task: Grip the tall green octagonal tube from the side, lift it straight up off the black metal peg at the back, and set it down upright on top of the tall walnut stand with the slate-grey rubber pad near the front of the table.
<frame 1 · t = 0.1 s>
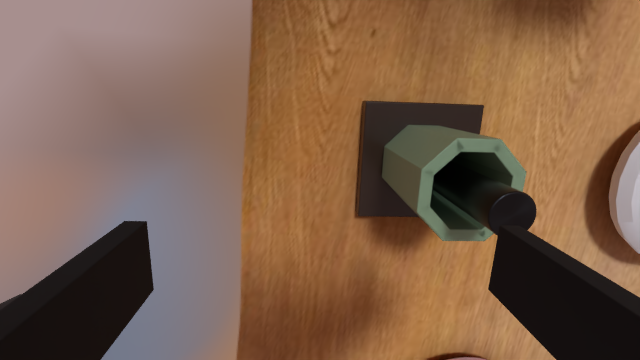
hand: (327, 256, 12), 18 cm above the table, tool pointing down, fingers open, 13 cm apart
green octagonal tube: (419, 162, 29), point 1 cm above the table, touching peg stand
peg stand: (413, 159, 30), on the table
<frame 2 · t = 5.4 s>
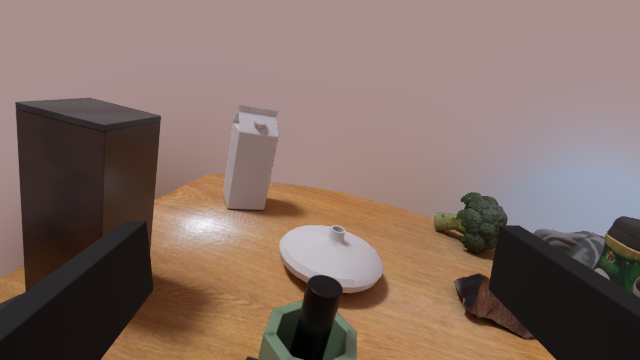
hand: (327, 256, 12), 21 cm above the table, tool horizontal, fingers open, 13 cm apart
vegetable: (461, 242, 73), on the table
coffee jar: (598, 333, 51), on the table
grey swirled rock: (580, 289, 64), on the table
milk carton: (242, 203, 66), on the table
stand: (96, 115, 31), on the table
stone: (503, 319, 49), on the table
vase: (326, 271, 50), on the table
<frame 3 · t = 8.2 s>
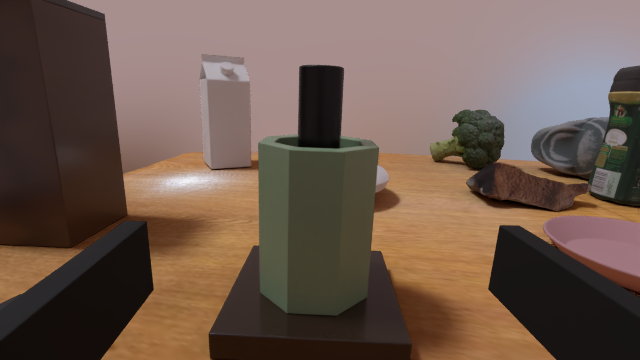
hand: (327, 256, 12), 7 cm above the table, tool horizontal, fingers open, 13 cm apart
vegetable: (462, 166, 69), on the table
green octagonal tube: (314, 282, 21), point 1 cm above the table, touching peg stand
coffee jar: (627, 201, 48), on the table
plate: (639, 270, 28), on the table
grey swirled rock: (594, 179, 61), on the table
peg stand: (313, 303, 21), on the table
milk carton: (227, 165, 61), on the table
stand: (24, 8, 27), on the table
stone: (527, 203, 45), on the table
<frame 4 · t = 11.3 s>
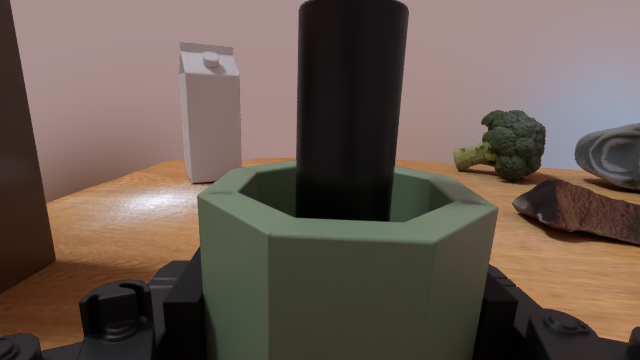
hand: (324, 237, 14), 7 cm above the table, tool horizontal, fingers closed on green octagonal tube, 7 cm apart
vegetable: (493, 176, 59), on the table
milk carton: (213, 177, 51), on the table
stone: (597, 232, 35), on the table
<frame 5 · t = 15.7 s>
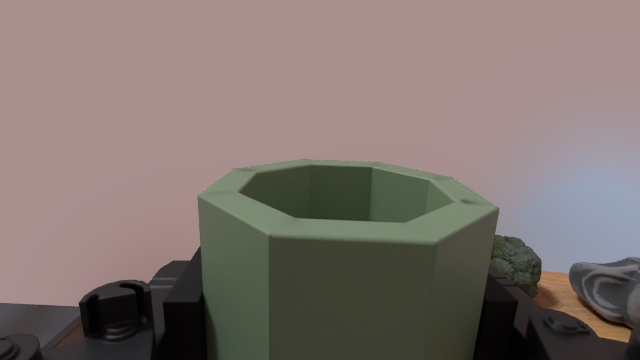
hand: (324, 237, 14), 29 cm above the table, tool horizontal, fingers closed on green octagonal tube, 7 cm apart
vegetable: (493, 293, 63), on the table
when the fingers open (25 cm above the table, at t = 20.6 s): green octagonal tube stays where it is, resting on stand.
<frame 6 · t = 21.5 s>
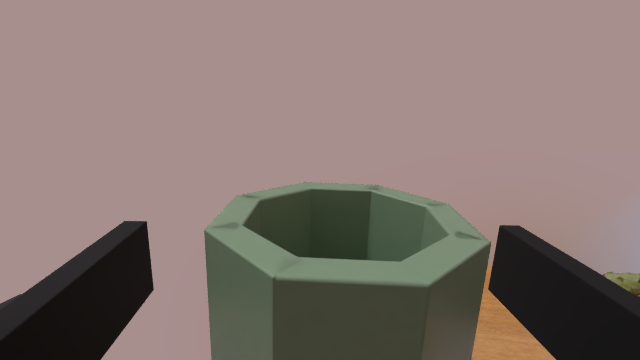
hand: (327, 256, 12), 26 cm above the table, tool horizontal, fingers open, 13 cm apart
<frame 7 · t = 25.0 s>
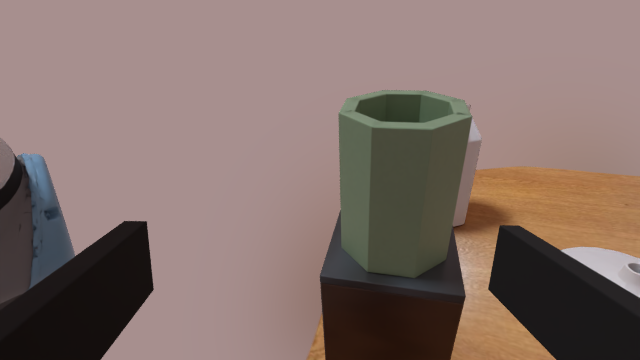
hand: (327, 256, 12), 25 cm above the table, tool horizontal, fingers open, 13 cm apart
green octagonal tube: (392, 240, 22), point 20 cm above the table, touching stand
milk carton: (432, 218, 56), on the table
stand: (391, 246, 22), on the table
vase: (612, 314, 38), on the table
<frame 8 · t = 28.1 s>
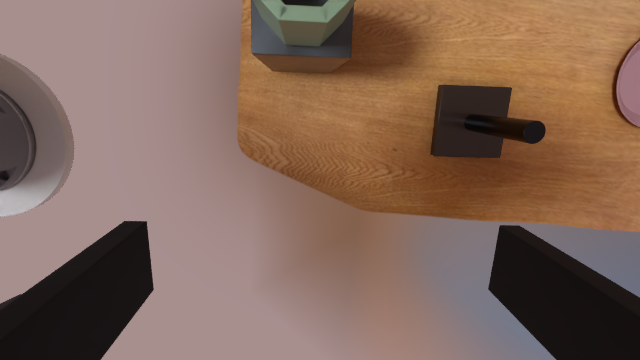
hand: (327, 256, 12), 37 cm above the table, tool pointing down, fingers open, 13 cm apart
green octagonal tube: (303, 1, 26), point 20 cm above the table, touching stand
peg stand: (467, 121, 49), on the table
stand: (302, 3, 26), on the table
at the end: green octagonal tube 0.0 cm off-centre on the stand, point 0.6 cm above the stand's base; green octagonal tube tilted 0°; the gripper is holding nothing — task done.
